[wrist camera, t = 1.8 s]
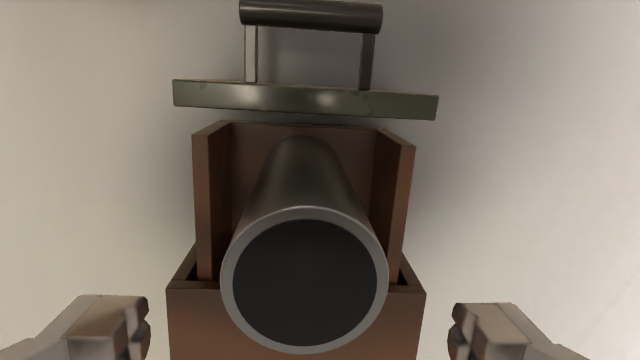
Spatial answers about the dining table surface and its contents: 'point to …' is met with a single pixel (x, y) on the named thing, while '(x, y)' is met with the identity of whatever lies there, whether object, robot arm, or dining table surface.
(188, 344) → the cabinet
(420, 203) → the dining table surface
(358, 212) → the grey metal cylinder
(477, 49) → the dining table surface
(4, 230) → the dining table surface
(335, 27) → the drawer
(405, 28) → the dining table surface
